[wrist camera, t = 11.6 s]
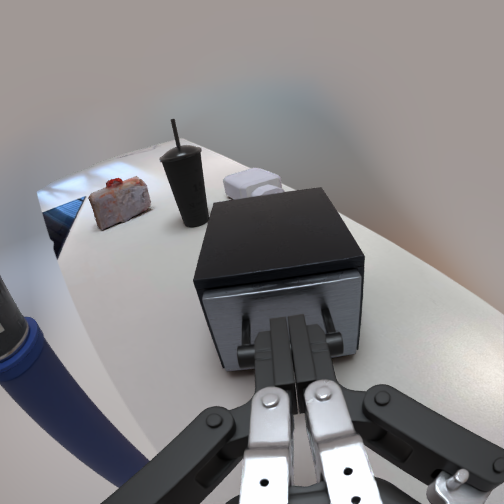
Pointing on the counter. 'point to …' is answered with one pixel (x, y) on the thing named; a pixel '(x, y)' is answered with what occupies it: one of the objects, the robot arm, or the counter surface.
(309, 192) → the cabinet
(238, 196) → the charger
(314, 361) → the robot arm
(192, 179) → the drinking cup
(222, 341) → the drawer
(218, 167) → the counter surface
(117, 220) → the food item
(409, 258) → the counter surface
